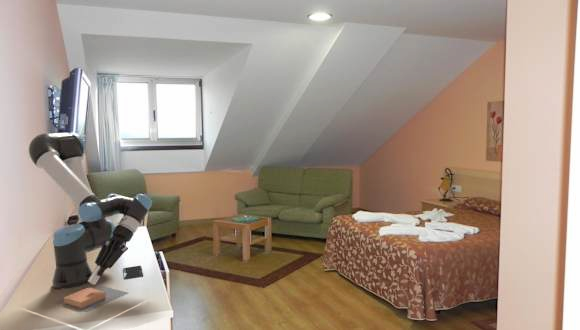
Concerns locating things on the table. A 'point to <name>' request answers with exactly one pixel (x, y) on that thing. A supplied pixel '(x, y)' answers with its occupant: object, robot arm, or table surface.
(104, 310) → the table surface
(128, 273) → the phone
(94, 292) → the tile
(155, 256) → the table surface
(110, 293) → the mat
